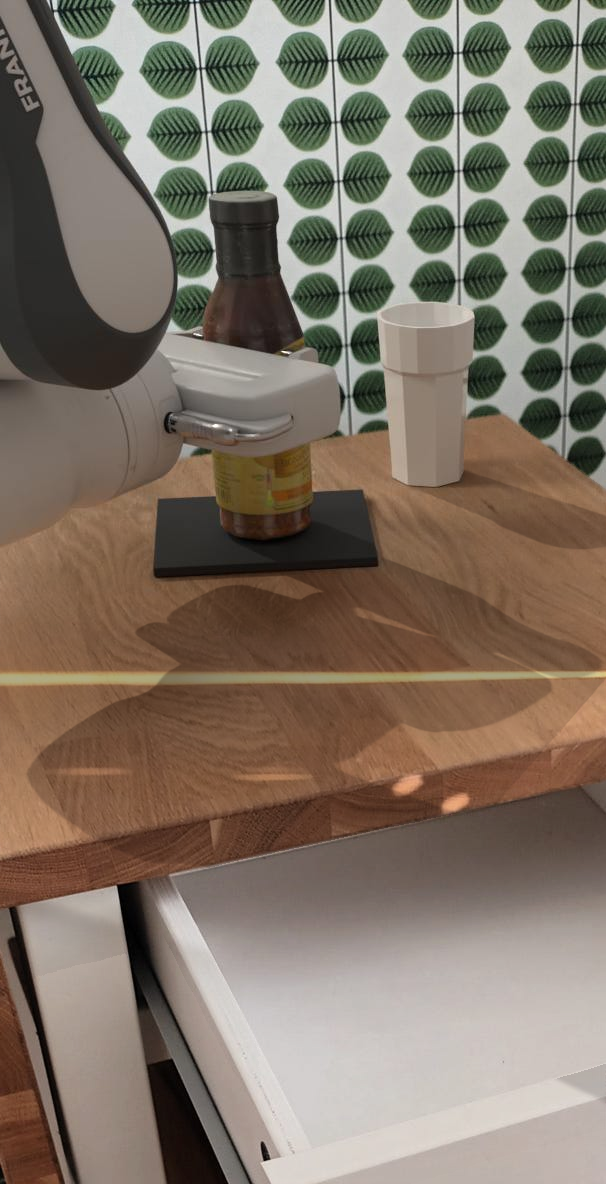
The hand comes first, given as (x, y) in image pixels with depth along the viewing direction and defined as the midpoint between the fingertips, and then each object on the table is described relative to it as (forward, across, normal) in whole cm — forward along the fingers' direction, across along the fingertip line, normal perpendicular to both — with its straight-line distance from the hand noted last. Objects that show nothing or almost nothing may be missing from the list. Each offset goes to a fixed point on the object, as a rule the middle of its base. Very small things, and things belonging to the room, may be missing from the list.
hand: (260, 350), depth 96 cm
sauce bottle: (-1, 0, +11) cm, 11 cm away
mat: (-1, 0, +12) cm, 12 cm away
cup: (+14, -3, +12) cm, 19 cm away
